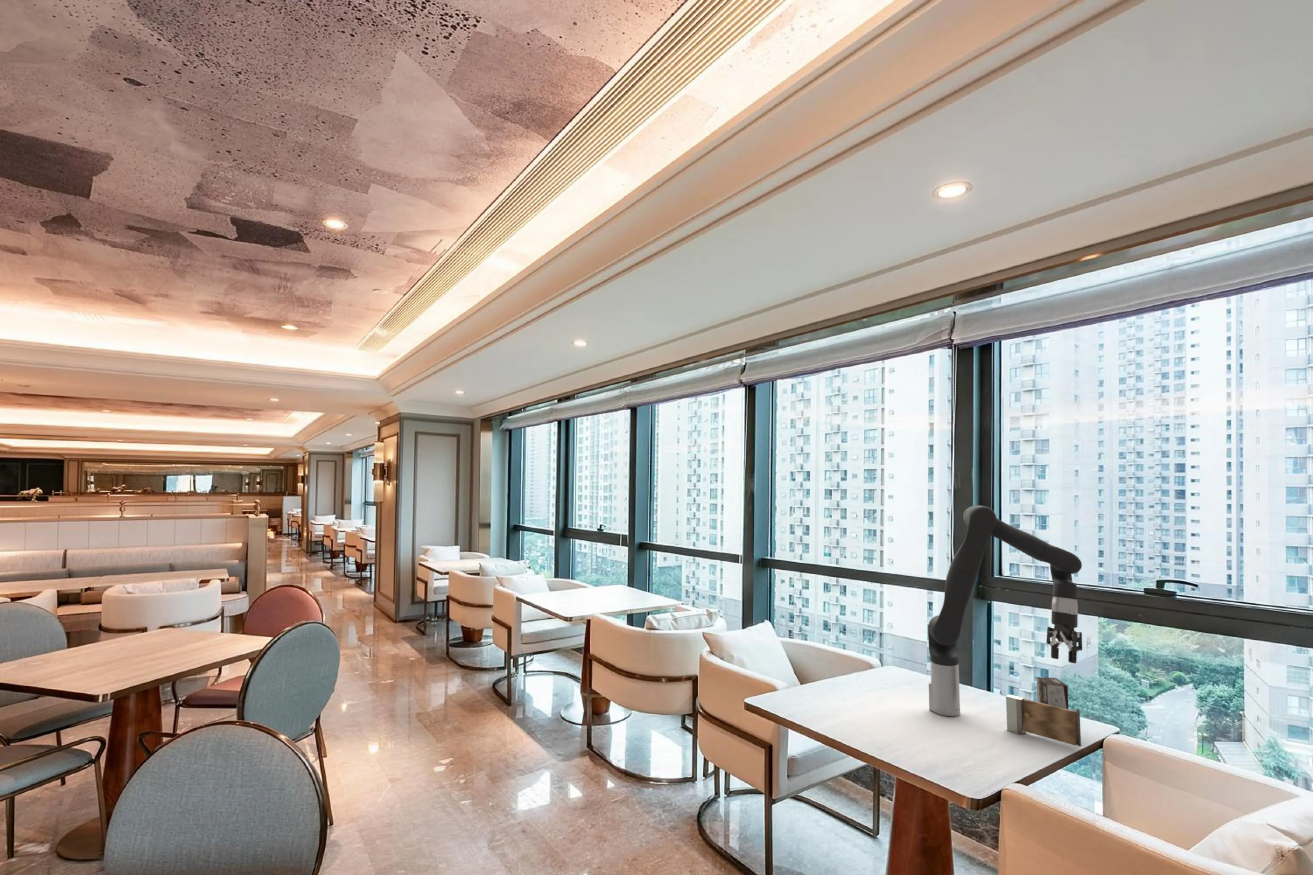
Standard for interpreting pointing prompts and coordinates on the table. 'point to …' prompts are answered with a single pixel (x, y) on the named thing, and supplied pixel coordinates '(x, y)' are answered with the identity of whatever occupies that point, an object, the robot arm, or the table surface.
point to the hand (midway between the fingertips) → (1063, 660)
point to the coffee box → (1052, 692)
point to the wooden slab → (1052, 722)
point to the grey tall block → (1015, 714)
